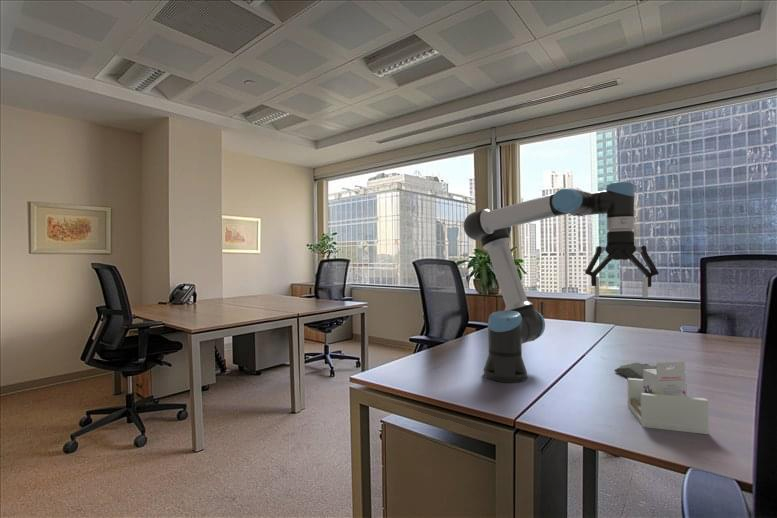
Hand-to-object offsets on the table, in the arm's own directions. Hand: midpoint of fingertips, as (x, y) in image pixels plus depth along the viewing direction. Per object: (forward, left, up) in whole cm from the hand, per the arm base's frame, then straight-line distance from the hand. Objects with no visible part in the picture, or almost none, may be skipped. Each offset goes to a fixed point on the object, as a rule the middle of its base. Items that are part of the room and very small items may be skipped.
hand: (620, 297), depth 123 cm
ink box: (+6, -19, -30) cm, 36 cm away
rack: (+6, -19, -31) cm, 37 cm away
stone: (+13, +19, -31) cm, 39 cm away
